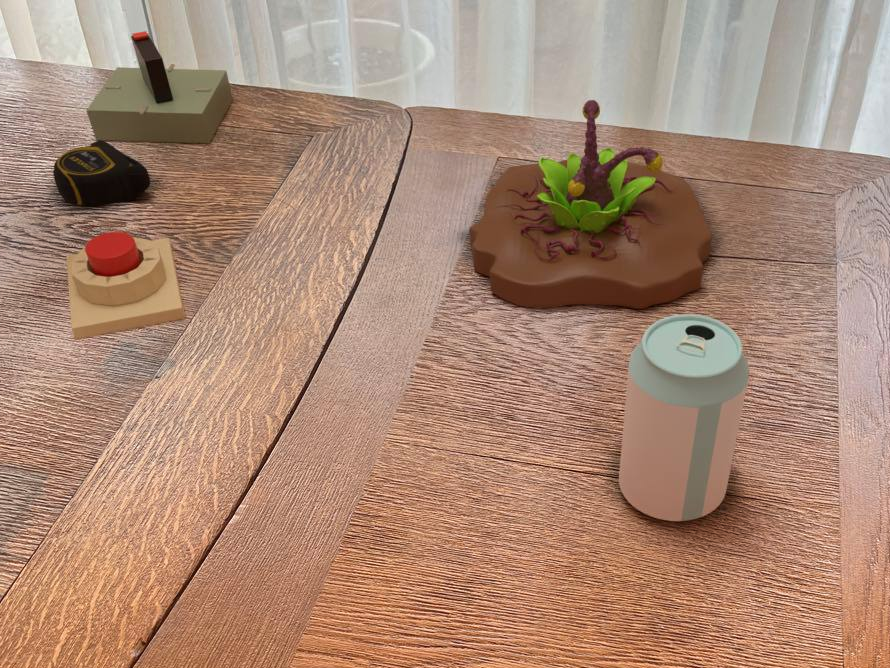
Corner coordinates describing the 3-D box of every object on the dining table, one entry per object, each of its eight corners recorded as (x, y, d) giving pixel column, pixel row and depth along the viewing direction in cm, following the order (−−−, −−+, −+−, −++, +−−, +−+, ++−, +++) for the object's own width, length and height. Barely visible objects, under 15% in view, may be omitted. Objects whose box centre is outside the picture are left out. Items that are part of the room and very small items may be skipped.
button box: (75, 278, 83) (58, 235, 80) (175, 260, 85) (162, 217, 82) (81, 352, 77) (62, 308, 74) (189, 331, 79) (176, 287, 76)
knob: (173, 100, 97) (161, 54, 94) (156, 103, 97) (143, 58, 94) (159, 74, 101) (147, 29, 98) (142, 77, 100) (129, 33, 97)
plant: (699, 183, 94) (715, 58, 85) (717, 313, 81) (738, 181, 72) (480, 179, 94) (474, 54, 86) (462, 307, 81) (454, 176, 73)
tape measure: (159, 198, 92) (147, 159, 89) (89, 228, 88) (74, 188, 86) (118, 170, 95) (106, 131, 92) (49, 198, 91) (34, 159, 89)
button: (91, 256, 79) (83, 236, 78) (139, 247, 80) (132, 228, 79) (93, 282, 77) (86, 262, 76) (143, 273, 78) (136, 253, 76)
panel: (93, 143, 98) (82, 111, 96) (127, 94, 105) (118, 62, 102) (208, 147, 98) (199, 114, 95) (234, 97, 104) (227, 65, 102)
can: (606, 460, 70) (616, 314, 61) (704, 444, 71) (729, 299, 62) (635, 536, 65) (651, 391, 56) (740, 518, 66) (772, 372, 57)
